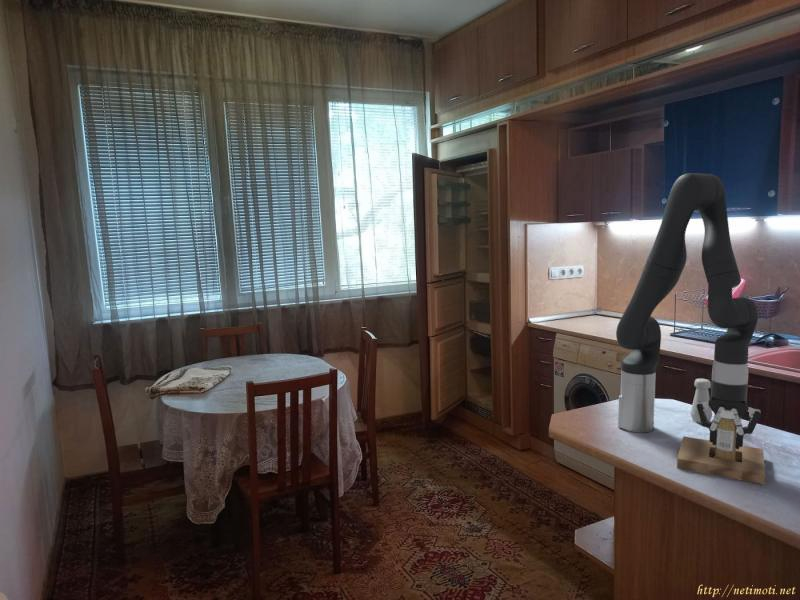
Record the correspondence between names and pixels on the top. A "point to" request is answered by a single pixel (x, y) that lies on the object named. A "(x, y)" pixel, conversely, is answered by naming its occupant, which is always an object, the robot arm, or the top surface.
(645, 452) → the top surface
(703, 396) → the salt shaker
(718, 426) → the sprinkles bottle
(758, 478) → the holder board
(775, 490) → the top surface
